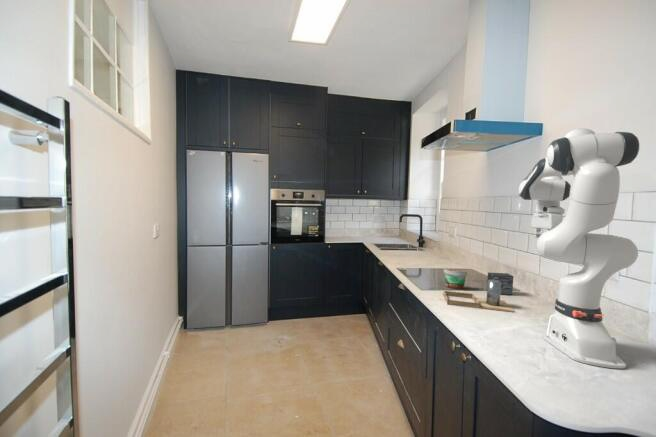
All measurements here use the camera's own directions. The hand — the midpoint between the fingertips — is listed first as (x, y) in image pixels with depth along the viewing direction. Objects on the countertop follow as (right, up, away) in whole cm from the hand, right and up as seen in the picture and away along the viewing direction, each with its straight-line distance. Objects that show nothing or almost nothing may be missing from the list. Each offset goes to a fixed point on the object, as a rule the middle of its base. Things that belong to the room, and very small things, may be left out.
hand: (542, 238), depth 134 cm
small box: (-10, -31, +18) cm, 37 cm away
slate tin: (-24, -31, 0) cm, 39 cm away
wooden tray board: (-31, -31, +2) cm, 44 cm away
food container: (-31, -30, +23) cm, 49 cm away
